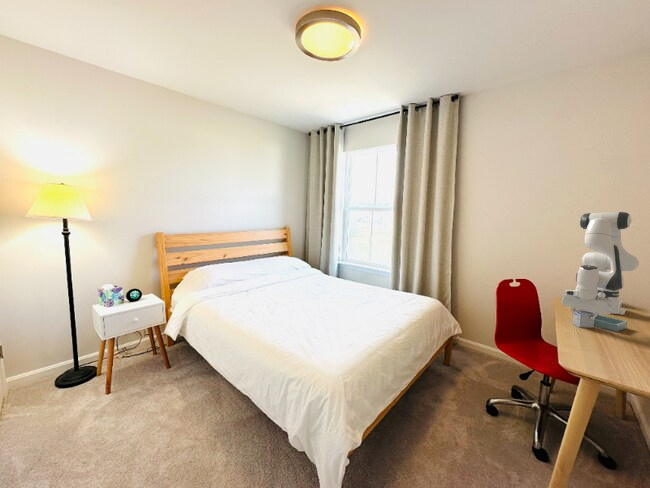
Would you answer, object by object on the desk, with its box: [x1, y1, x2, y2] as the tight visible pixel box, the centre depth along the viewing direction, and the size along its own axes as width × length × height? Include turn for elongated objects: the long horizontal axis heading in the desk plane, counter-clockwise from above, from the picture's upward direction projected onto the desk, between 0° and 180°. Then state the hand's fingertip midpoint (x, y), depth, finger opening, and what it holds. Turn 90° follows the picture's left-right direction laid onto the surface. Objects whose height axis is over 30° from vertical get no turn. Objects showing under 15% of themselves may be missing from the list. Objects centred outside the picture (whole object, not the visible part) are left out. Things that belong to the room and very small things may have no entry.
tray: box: [593, 314, 628, 333], centre depth 153 cm, size 14×16×4 cm
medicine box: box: [572, 309, 595, 328], centre depth 151 cm, size 8×4×9 cm, turn 88°
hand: (583, 317), depth 151 cm, fingers closed on medicine box, 6 cm apart
